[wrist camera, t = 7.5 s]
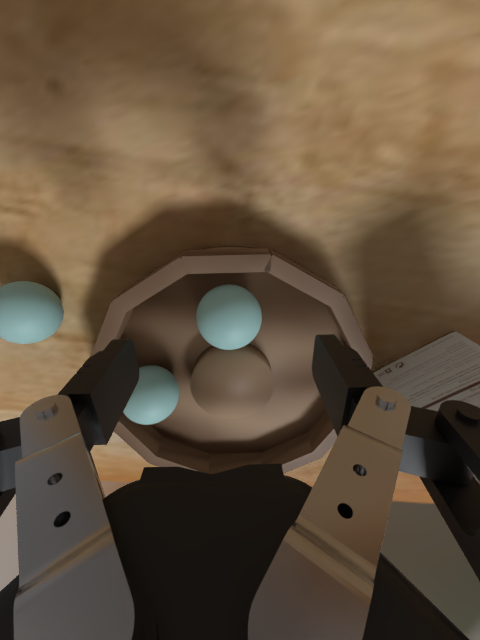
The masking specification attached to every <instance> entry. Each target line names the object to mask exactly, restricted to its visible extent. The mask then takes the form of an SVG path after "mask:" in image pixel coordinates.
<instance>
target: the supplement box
mask: <svg viewBox="0 0 480 640" xmlns="http://www.w3.org/2000/svg"><path fill="white" fill-rule="evenodd" d="M373 374H374V375H375V376H376V378H377V379H378V380H379V382H380V383H381V384H382V386H383V387H386V388H389V389H392V390H395V391H397V392H398V393H400V394H402V395H403V396H404V397H405V398H406V399H407V400H408V401H409V403H410V405H411V406H414V407H419V408H424V409H429V410H434V411H438V410H439V407H440V405H441V403H443V402H444V401H448V400H458V401H463V402H466V403H469V404H472V405H475V406H477V407H479V408H480V345H479V344H477V343H475V342H473V341H472V340H470V339H468V338H467V337H465V336H464V335H462V334H460V333H458V332H456V331H455V332H452V333H450V334H448V335H446V336H443V337H441V338H439V339H437V340H435V341H434V342H432V343H429V344H427V345H425V346H424V347H422V348H420V349H418V350H416V351H414V352H412V353H410V354H408V355H406V356H404V357H402V358H400V359H398V360H396V361H394V362H392V363H390V364H388V365H386V366H385V367H383V368H381V369H379V370H377V371H375V372H373ZM473 477H474V478H475V479H476V481H477V482H478V483H479V485H480V481H479V480H478V479H477V478H476V476H475V475H474V476H473Z"/></svg>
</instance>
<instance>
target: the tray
mask: <svg viewBox="0 0 480 640" xmlns="http://www.w3.org/2000/svg"><path fill="white" fill-rule="evenodd" d="M227 284H231V285H237V286H241V287H243V288H245V289H247V290H248V291H249V292H251V293H252V294H253V295H254V296H255V298H256V299H257V301H258V303H259V305H260V308H261V312H262V322H261V326H260V329H259V332H258V333H257V335H256V336H255V338H254V339H253V340H252V341H251V342H250V343H249V344H247V345H245V346H244V347H241V348H239V349H234V350H224V349H220V348H217V347H215V346H213V345H211V344H210V343H208V342H207V341H206V340H205V339H204V338H203V336H202V335H201V333H200V331H199V329H198V326H197V320H196V314H197V309H198V305H199V303H200V301H201V300H202V298H203V297H204V295H205V294H206V293H208V292H209V291H210V290H212V289H213V288H215V287H218V286H221V285H227ZM324 334H334V335H335V336H336V337H337V338H338V340H339V341H340V343H341V344H342V345H348V346H349V347H351V348H352V349H354V350H355V351H357V352H358V354H359V355H360V356H361V358H362V359H363V361H364V362H365V363H366V364H367V367H369V368H370V370H371V367H372V363H373V355H372V352H371V350H370V348H369V346H368V344H367V342H366V340H365V338H364V335H363V333H362V331H361V329H360V327H359V325H358V323H357V321H356V318H355V316H354V314H353V312H352V310H351V308H350V306H349V304H348V301H347V299H346V297H345V296H344V295H343V294H342V293H341V292H340V291H339V290H338V289H337V288H336V287H335V286H334V285H332V284H330V283H329V282H327V281H325V280H323V279H322V278H320V277H318V276H316V275H315V274H313V273H312V272H310V271H309V270H307V269H306V268H304V267H303V266H301V265H300V264H298V263H296V262H294V261H292V260H290V259H288V258H286V257H284V256H281V255H280V254H278V253H276V252H274V251H273V250H271V249H269V248H249V247H233V246H225V247H214V248H207V249H202V250H187V251H184V252H183V253H181V254H179V255H178V256H176V257H175V258H173V259H172V260H170V261H169V262H167V263H165V264H163V265H161V266H160V267H158V268H157V269H155V270H154V271H153V272H151V273H150V274H149V275H147V276H146V277H144V278H143V279H141V280H140V281H138V282H137V283H135V284H133V285H132V286H130V287H129V288H127V289H126V290H124V291H123V292H122V293H121V294H120V295H118V296H117V297H116V298H115V299H114V300H112V302H111V303H110V306H109V308H108V311H107V314H106V316H105V319H104V322H103V324H102V327H101V330H100V332H99V335H98V338H97V340H96V343H95V346H94V348H93V351H92V354H91V356H93V355H94V354H96V353H97V352H99V351H103V350H104V349H105V348H106V346H107V345H108V344H109V343H110V341H111V340H113V339H131V340H132V341H133V343H134V348H135V352H136V357H137V361H138V366H139V368H140V367H143V366H148V365H155V366H160V367H163V368H165V369H167V370H168V371H169V372H171V373H172V374H173V376H174V377H175V379H176V380H177V383H178V386H179V399H178V403H177V405H176V407H175V409H174V410H173V412H172V413H171V414H170V415H169V416H168V417H167V418H165V419H164V420H162V421H160V422H158V423H155V424H150V425H143V424H138V423H136V422H133V421H131V420H130V419H129V418H128V417H127V416H126V415H125V414H124V413H122V415H121V417H120V419H119V421H118V423H117V425H116V427H115V429H114V432H115V433H116V434H117V435H118V436H120V437H121V438H122V439H123V440H124V441H125V442H126V443H127V444H128V445H129V446H131V447H132V448H133V449H134V450H135V451H136V452H137V453H138V454H139V455H140V456H142V457H143V458H144V459H145V460H146V461H147V462H148V463H149V462H150V464H153V465H156V466H159V467H182V468H187V469H191V470H195V471H200V472H204V473H208V474H215V473H219V472H223V471H226V470H230V469H234V468H237V467H241V466H244V465H250V464H282V469H283V474H284V473H286V472H288V471H291V470H293V469H296V468H298V467H301V466H303V465H305V464H308V463H310V462H313V461H315V460H318V459H320V457H321V458H322V457H323V456H324V454H325V453H326V452H327V451H328V450H329V449H330V448H331V447H332V446H333V445H334V443H335V441H336V439H337V434H336V432H335V429H334V427H333V425H332V422H331V420H330V417H329V415H328V413H327V410H326V408H325V405H324V403H323V400H322V398H321V396H320V393H319V391H318V388H317V386H316V383H315V381H314V379H313V375H312V359H313V351H314V342H315V337H316V335H324ZM91 356H90V357H91Z"/></svg>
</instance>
